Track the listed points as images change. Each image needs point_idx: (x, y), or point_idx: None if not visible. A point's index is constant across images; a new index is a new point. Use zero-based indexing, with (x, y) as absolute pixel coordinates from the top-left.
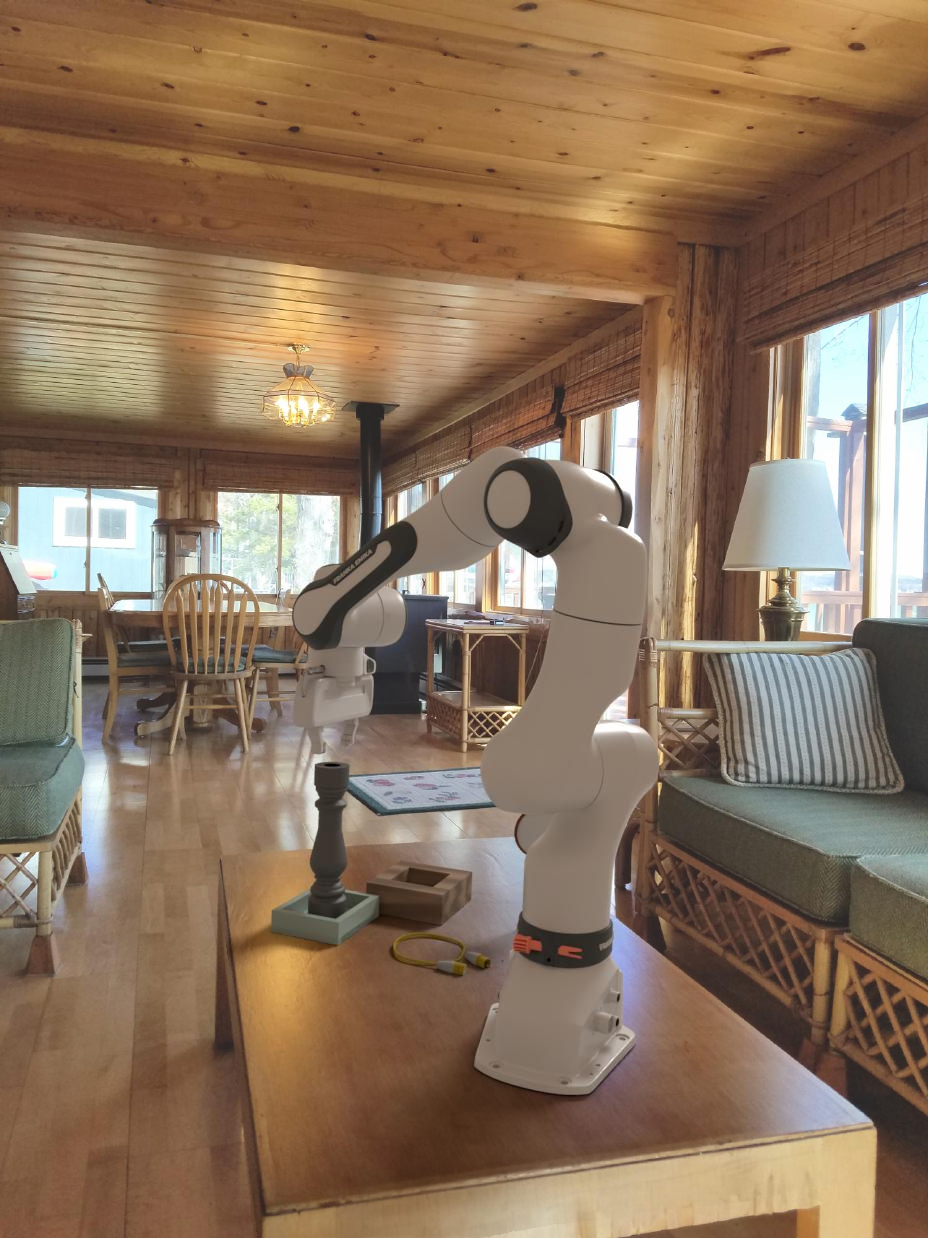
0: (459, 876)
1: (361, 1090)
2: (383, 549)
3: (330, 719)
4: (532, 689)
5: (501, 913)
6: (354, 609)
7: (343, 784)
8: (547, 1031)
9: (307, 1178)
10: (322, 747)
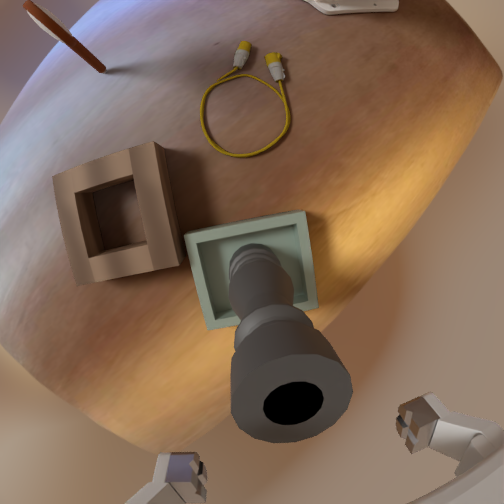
0: (75, 176)
1: (452, 64)
2: None
3: (492, 474)
4: None
5: (89, 121)
6: None
7: (295, 326)
8: None
9: (493, 67)
10: (434, 406)
